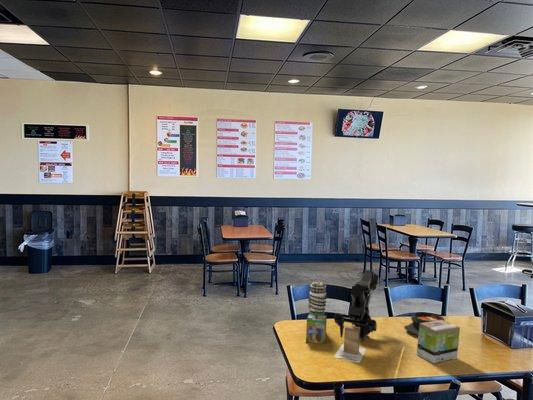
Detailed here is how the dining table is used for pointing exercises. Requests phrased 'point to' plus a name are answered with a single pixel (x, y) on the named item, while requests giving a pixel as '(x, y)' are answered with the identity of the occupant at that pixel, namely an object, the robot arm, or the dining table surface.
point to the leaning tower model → (317, 298)
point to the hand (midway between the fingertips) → (351, 339)
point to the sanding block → (351, 339)
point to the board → (350, 355)
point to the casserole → (421, 321)
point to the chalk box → (316, 328)
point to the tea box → (438, 341)
